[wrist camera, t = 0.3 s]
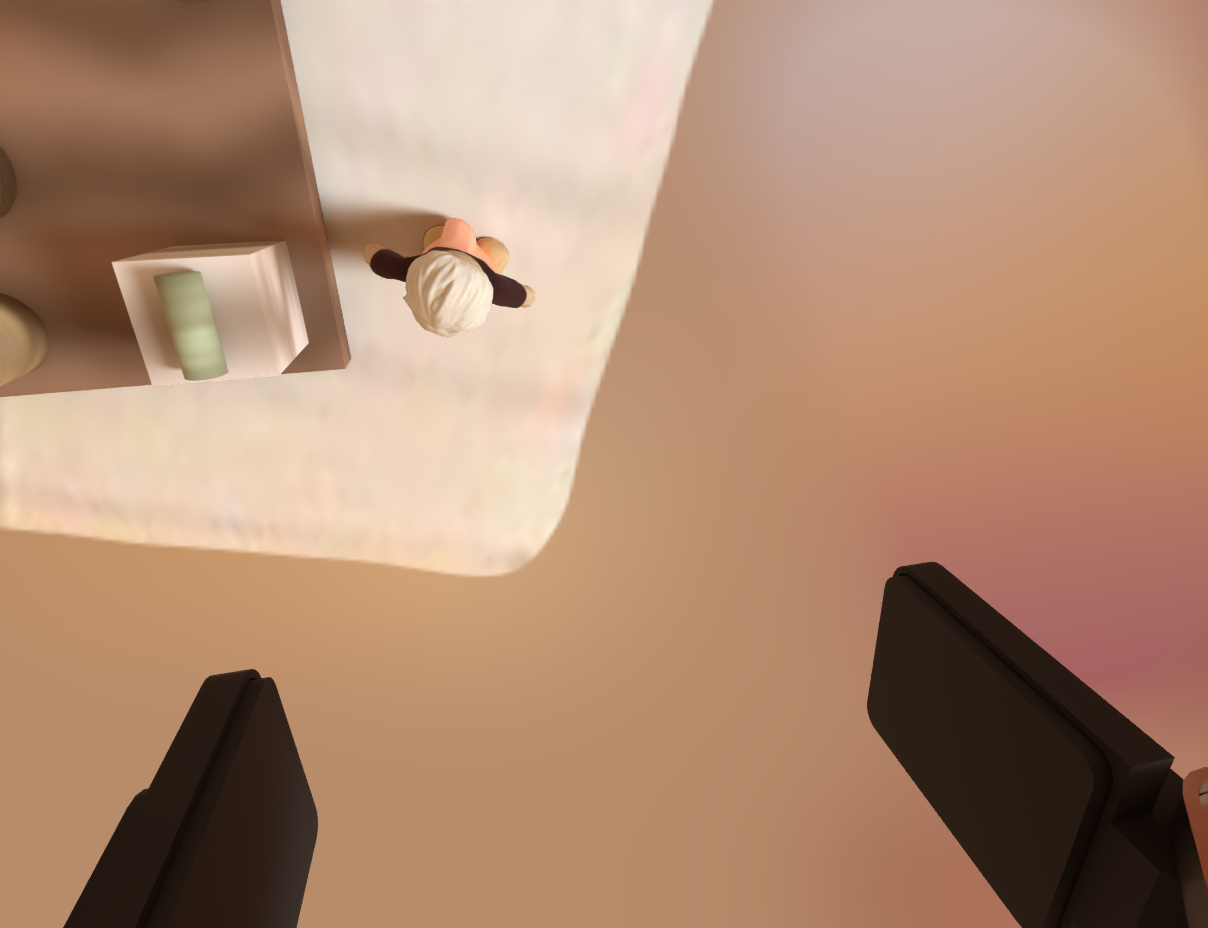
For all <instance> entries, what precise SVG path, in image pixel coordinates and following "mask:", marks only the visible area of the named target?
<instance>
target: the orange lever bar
mask: <svg viewBox="0 0 1208 928" xmlns="http://www.w3.org/2000/svg"><path fill="white" fill-rule="evenodd" d="M16 192H17V182H16V176H15V173H14V169H13V167H12V165H11V162H10V160H9V159H8V157H7V155H6V153H5V152H4V151H3V149H2V148H1V147H0V218H2V217H3V216H4V215H5V214H6V213H7V212H8V211H9V210H10V209H11V207H12V205H13V203H14V201H15V197H16Z"/></svg>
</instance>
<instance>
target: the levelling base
mask: <svg viewBox="0 0 1208 928" xmlns="http://www.w3.org/2000/svg"><path fill="white" fill-rule="evenodd" d="M0 147H1V148H2V149H3V151H4V152H5V153H6V155H7V157H8V159H9V160H10V162H11V165H12V167H13V169H14V173H15V176H16V182H17V192H16V197H15V201H14V203H13V205H12V207H11V209H10V210H9V211H8V212H7V213H6V214H5V215H4V216H3V217H2V218H0V397H7V396H19V395H31V394H44V393H56V392H68V391H80V390H92V389H105V388H117V387H129V386H141V385H152V386H160V385H173V384H185V383H197V382H209V381H221V380H233V379H245V378H258V377H270V376H279V375H280V374H287V373H300V372H312V371H324V370H336V369H345V368H346V367H347V365H348V363H349V362H350V360H351V356H350V351H349V346H348V341H347V336H346V331H345V326H344V321H343V315H342V310H341V305H340V300H339V295H338V290H337V285H336V280H335V275H334V270H333V265H332V260H331V255H330V250H329V244H328V239H327V234H326V229H325V224H324V219H323V214H322V209H321V204H320V199H319V194H318V189H317V184H316V179H315V174H314V168H313V163H312V158H311V153H310V148H309V143H308V138H307V133H306V128H305V123H304V118H303V113H302V108H301V103H300V98H299V92H298V87H297V82H296V77H295V72H294V67H293V62H292V57H291V52H290V47H289V42H288V37H287V32H286V27H285V21H284V16H283V11H282V6H281V1H280V0H0Z"/></svg>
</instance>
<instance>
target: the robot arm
mask: <svg viewBox="0 0 1208 928" xmlns="http://www.w3.org/2000/svg"><path fill="white" fill-rule="evenodd" d="M867 710H868V714H869V718H870V720H871V723H872V725H873V726H874V728H875V729H876V731H877V732H878V733H879V735H880V736H881V738H882V739H883V740H884V742H885V743H886V744H887V746H888V747H889V748H890V750H891V751H892V752H893V754H894V755H895V756H896V758H897V759H898V761H899V762H900V763H901V765H902V766H903V767H904V769H905V770H906V772H907V773H908V774H909V776H910V777H911V778H912V780H913V781H914V782H915V784H916V785H917V786H918V788H919V789H920V791H921V792H922V793H923V794H924V796H925V797H926V799H927V800H928V801H929V803H930V804H931V805H932V807H933V808H934V809H935V811H936V812H937V814H938V815H939V816H940V817H941V819H942V820H943V822H944V823H945V824H946V826H947V827H948V828H949V830H950V831H951V833H952V834H953V835H954V837H955V838H956V839H957V841H958V842H959V844H960V845H961V846H962V848H963V849H964V850H965V851H966V853H967V854H968V856H969V857H970V858H971V860H972V861H973V862H974V864H975V865H976V867H977V868H978V869H979V871H980V872H981V873H982V875H983V876H984V877H985V879H986V880H987V881H988V883H989V884H990V886H991V887H992V888H993V890H994V891H995V892H996V894H997V895H998V896H999V898H1000V899H1001V900H1002V902H1003V903H1004V904H1005V906H1006V907H1007V909H1008V910H1009V911H1010V913H1011V914H1012V915H1013V917H1014V918H1015V920H1016V921H1017V922H1018V923H1019V924H1020V926H1021V927H1022V928H1208V767H1203V768H1200V769H1197V770H1194V771H1192V772H1190V773H1189V774H1188V775H1187V776H1186V778H1185V779H1184V780H1183V779H1182V778H1181V777H1180V776H1179V775H1177V774H1176V773H1175V772H1174V771H1173V770H1172V769H1170V767H1171V765H1172V763H1173V760H1174V757H1173V756H1172V755H1171V754H1170V753H1169V752H1167V751H1166V750H1165V749H1164V748H1163V747H1161V746H1160V745H1159V744H1158V743H1156V742H1155V741H1154V740H1153V739H1152V738H1150V737H1149V736H1148V735H1147V734H1145V733H1144V732H1143V731H1142V730H1141V729H1139V728H1138V727H1137V726H1136V725H1135V724H1133V723H1132V722H1131V721H1130V720H1129V719H1127V718H1126V717H1125V716H1124V715H1122V714H1121V713H1120V712H1119V711H1118V710H1116V709H1115V708H1114V707H1113V706H1112V705H1110V704H1109V703H1108V702H1107V701H1106V700H1104V699H1103V698H1102V697H1101V696H1099V695H1098V694H1097V693H1096V692H1094V691H1093V690H1092V689H1091V688H1090V687H1088V686H1087V685H1086V684H1085V683H1084V682H1082V681H1081V680H1080V679H1079V678H1078V677H1076V676H1075V675H1074V674H1073V673H1072V672H1070V671H1069V670H1068V669H1067V668H1065V667H1064V666H1063V665H1062V664H1061V663H1059V662H1058V661H1057V660H1056V659H1055V658H1053V657H1052V656H1051V655H1050V654H1048V653H1047V652H1046V651H1045V650H1044V649H1042V648H1041V647H1040V646H1039V645H1037V644H1036V643H1035V642H1034V641H1033V640H1031V639H1030V638H1029V637H1028V636H1027V635H1025V634H1024V633H1023V632H1022V631H1021V630H1019V629H1018V628H1017V627H1016V626H1014V625H1013V624H1012V623H1011V622H1010V621H1008V620H1007V619H1006V618H1005V617H1004V616H1002V615H1001V614H1000V613H999V612H997V611H996V610H995V609H994V608H993V607H991V606H990V605H989V604H988V603H987V602H985V601H984V600H983V599H982V598H980V597H979V596H978V595H977V594H976V593H974V592H973V591H972V590H971V589H969V588H968V587H967V586H966V585H965V584H963V583H962V582H961V581H960V580H959V579H957V578H956V577H955V576H954V575H953V574H951V573H950V572H949V571H948V570H946V569H945V568H944V567H943V566H942V565H940V564H938V563H936V562H927V563H921V564H915V565H909V566H901V567H899V568H897V569H896V571H895V572H894V575H893V577H891V578H889V579H888V580H887V582H886V584H885V589H884V596H883V602H882V609H881V616H880V622H879V628H878V635H877V642H876V648H875V655H874V662H873V668H872V674H871V681H870V687H869V694H868V701H867ZM317 829H318V817H317V810H316V807H315V803H314V801H313V797H312V794H311V791H310V788H309V785H308V782H307V779H306V776H305V773H304V770H303V767H302V764H301V761H300V758H299V755H298V751H297V748H296V746H295V743H294V739H293V736H292V733H291V730H290V727H289V724H288V721H287V718H286V715H285V712H284V709H283V706H282V703H281V699H280V697H279V693H278V690H277V687H276V685H275V682H274V680H273V679H272V678H270V677H267V678H261V676H260V674H259V673H258V672H257V671H256V670H254V669H250V670H243V671H238V672H231V673H224V674H218V675H213V676H209V677H208V678H206V680H205V681H204V683H203V685H202V686H201V688H200V690H199V692H198V694H197V696H196V698H195V700H194V702H193V703H192V705H191V707H190V709H189V712H188V713H187V715H186V717H185V719H184V721H183V723H182V725H181V727H180V729H179V731H178V733H177V735H176V736H175V738H174V740H173V742H172V745H171V746H170V748H169V750H168V752H167V754H166V756H165V758H164V760H163V762H162V764H161V766H160V768H159V769H158V771H157V773H156V775H155V777H154V779H153V781H152V783H151V785H150V787H149V788H148V789H144V790H142V791H141V792H140V793H139V794H137V795H136V796H135V797H134V799H133V800H132V802H131V803H130V805H129V806H128V807H127V809H126V811H125V813H124V815H123V817H122V819H121V820H120V822H119V824H118V826H117V828H116V830H115V832H114V834H113V836H112V837H111V840H110V841H109V843H108V845H107V847H106V849H105V850H104V852H103V855H102V856H101V858H100V860H99V862H98V864H97V866H96V867H95V870H94V871H93V873H92V875H91V877H90V879H89V880H88V882H87V884H86V886H85V888H84V890H83V892H82V894H81V896H80V897H79V899H78V901H77V903H76V905H75V907H74V909H73V910H72V912H71V914H70V916H69V918H68V920H67V922H66V924H65V925H64V927H63V928H296V927H297V923H298V918H299V914H300V909H301V905H302V901H303V896H304V892H305V887H306V883H307V878H308V874H309V869H310V865H311V861H312V856H313V851H314V847H315V842H316V837H317Z"/></svg>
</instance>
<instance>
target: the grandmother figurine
mask: <svg viewBox="0 0 1208 928" xmlns="http://www.w3.org/2000/svg"><path fill="white" fill-rule="evenodd" d="M423 249H424V251H423V252H422V254H421V255H419V256H413V257H407V258H404V257H402V256H401V255H399V254H397V253H395V252H393V251H391V250H388V249H385V248H384V247H383V246H381V245H379V244H377V243H371V244H369V245H367V246H366V247H365V249H364V251H363V257H364V259H365V261H366V262H367V263H368V264H369V265H370V267H371V269H372V271H373V272H374V273H375V274H377V275H379V276H381V277H384V278H386V279H396V280H400V281H403V282H406V291H407V294H406V296H405V297H403V299H404V300H405V301H406V303H407V304H408V306H409V307H410V308H411V310H412V313H413V315H414V317H415V319H416V321H417V322H418V323H419V324H420V325H421V326H422V327H423V328H424V329H425V330H427V331H429V332H433V333H436V334H437V335H440V336H442V337H453V336H456V335H459V334H461V333H462V332H465V331H470V330H473V329H476V328H478V327H480V326H481V325H482V324H483V322H484V321H485V320H486V318H487V315H488V313H489V310H490V308H491V305H492V303H493V304H495V305H499V306H506V307H511V308H518V307H529V306H531V305H532V304H533V302H534V301H535V293H534V291H533V289H532V288H530V287H529V286H525V285H521V284H520V283H518V282H517V281H515V280H513V279H510V278H508V277H506V276H503V275H500V274H501V273H502V272H503V270H504V269H505V267H506V265H507V263H508V260H509V254H508V251H507V249H506V247H505V246H504V245H503V244H502V243H501V242H499V241H498V240H496V239H494V238H490V237H486V238H482V239H480V240H478V241H477V242H476V237H475V234H474V231H473V229H472V227H471V226H470V225H469V224H468V223H466V222H465V221H463V220H461V219H457V218H449V219H448V220H447V221H446V222H445V225H444V226H435V227H432V228H430V229H429V230H428V231H427V232H426V234H425V236H424V240H423Z"/></svg>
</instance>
